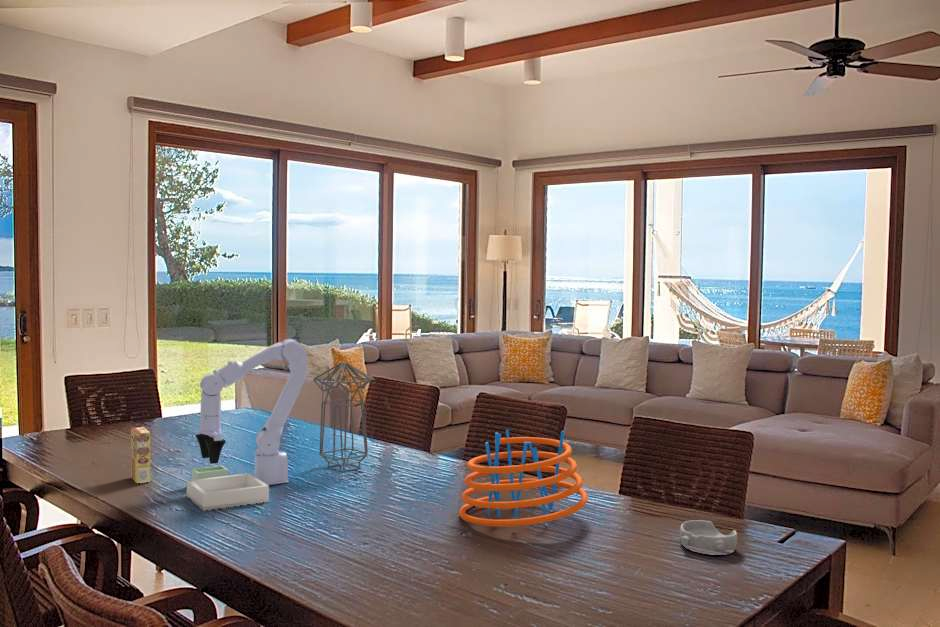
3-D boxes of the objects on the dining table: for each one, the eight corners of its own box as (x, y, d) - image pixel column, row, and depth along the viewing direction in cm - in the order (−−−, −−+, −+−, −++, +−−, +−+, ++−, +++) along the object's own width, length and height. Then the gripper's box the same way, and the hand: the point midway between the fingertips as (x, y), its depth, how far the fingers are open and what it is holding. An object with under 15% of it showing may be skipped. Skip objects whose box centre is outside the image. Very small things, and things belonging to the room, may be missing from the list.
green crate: (221, 481, 247) (222, 465, 247) (227, 486, 242) (228, 469, 242) (191, 485, 242) (191, 468, 241) (197, 490, 237) (197, 473, 237)
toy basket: (501, 551, 196) (493, 453, 195) (438, 520, 227) (431, 435, 226) (615, 522, 212) (608, 431, 211) (542, 496, 243) (536, 417, 242)
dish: (692, 535, 210) (693, 516, 210) (745, 548, 201) (746, 528, 201) (667, 548, 199) (668, 528, 198) (722, 563, 190) (723, 542, 190)
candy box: (150, 482, 243) (151, 431, 243) (135, 484, 241) (136, 433, 240) (144, 476, 251) (144, 426, 250) (129, 477, 248) (130, 427, 248)
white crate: (248, 488, 241) (249, 473, 240) (268, 501, 227) (269, 485, 227) (186, 496, 230) (186, 480, 230) (203, 511, 217) (203, 494, 217)
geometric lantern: (336, 476, 257) (335, 366, 256) (310, 467, 269) (310, 362, 268) (377, 468, 268) (377, 362, 266) (351, 460, 280) (350, 358, 278)
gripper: (189, 411, 244) (189, 456, 245) (204, 420, 233) (203, 467, 233) (213, 410, 248) (212, 454, 249) (228, 418, 237) (228, 464, 237)
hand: (209, 460), depth 242 cm, fingers open, 7 cm apart
